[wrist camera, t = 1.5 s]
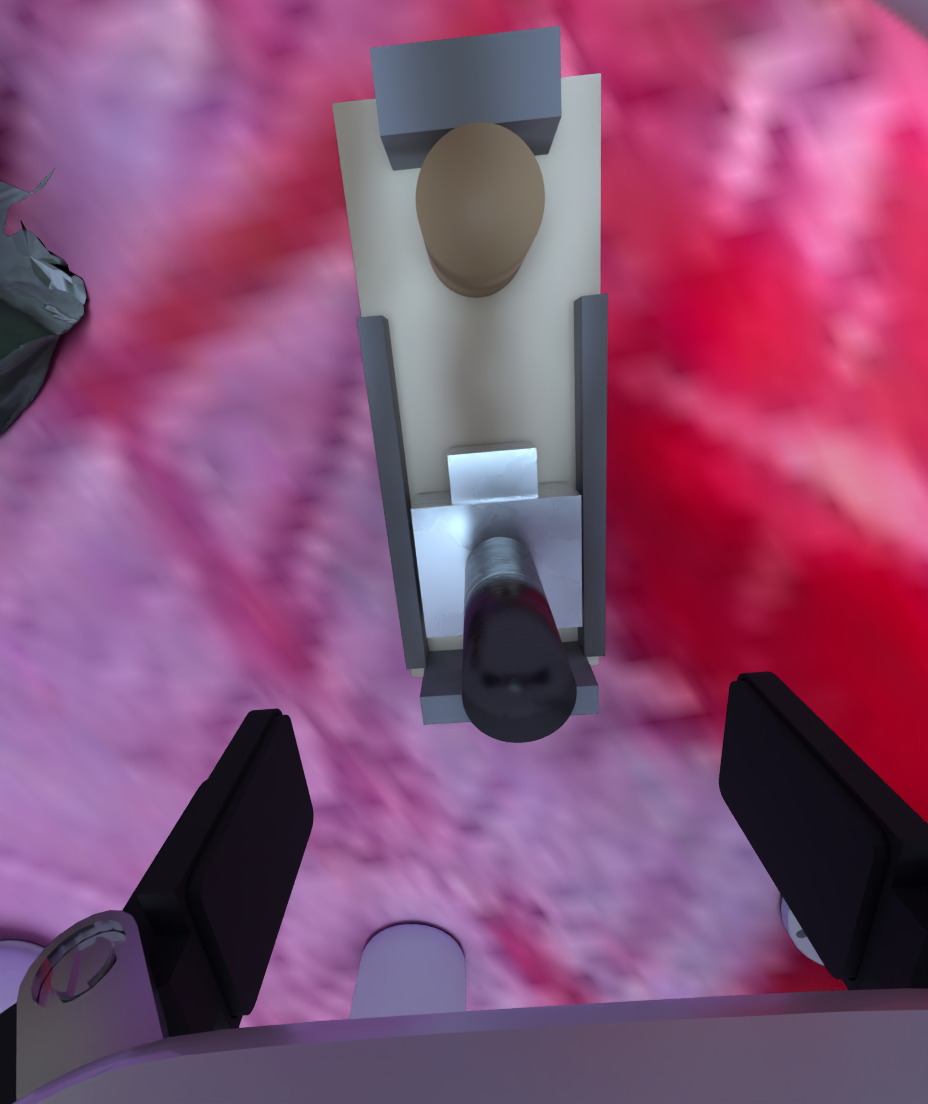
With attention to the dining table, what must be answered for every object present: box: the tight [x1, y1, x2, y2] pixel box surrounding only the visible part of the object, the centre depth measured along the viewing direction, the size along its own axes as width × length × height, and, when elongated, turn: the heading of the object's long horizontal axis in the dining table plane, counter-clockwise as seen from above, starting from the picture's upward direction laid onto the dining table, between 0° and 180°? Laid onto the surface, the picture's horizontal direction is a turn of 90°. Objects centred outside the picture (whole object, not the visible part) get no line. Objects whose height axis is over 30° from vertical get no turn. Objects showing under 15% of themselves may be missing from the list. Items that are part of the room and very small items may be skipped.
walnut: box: [415, 122, 545, 298], centre depth 18 cm, size 4×4×5 cm
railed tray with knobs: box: [332, 26, 608, 725], centre depth 22 cm, size 10×25×6 cm, turn 5°
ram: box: [411, 441, 582, 743], centre depth 18 cm, size 7×8×12 cm
